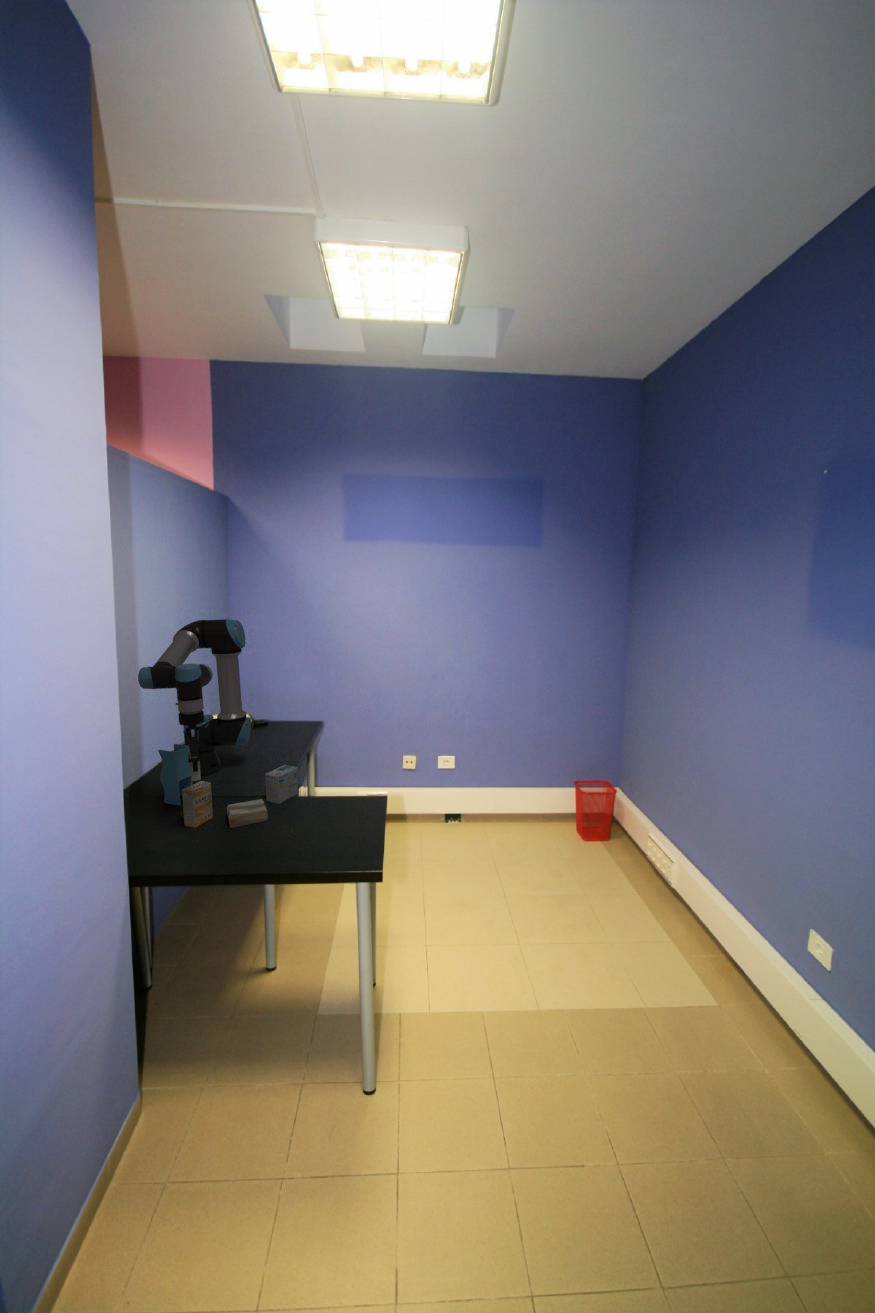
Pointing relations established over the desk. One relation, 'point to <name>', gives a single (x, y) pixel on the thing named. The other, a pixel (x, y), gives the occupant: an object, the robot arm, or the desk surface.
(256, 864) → the desk surface
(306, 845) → the desk surface
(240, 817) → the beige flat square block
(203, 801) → the supplement box
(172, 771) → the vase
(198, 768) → the robot arm
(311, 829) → the desk surface
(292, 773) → the light bulb box
